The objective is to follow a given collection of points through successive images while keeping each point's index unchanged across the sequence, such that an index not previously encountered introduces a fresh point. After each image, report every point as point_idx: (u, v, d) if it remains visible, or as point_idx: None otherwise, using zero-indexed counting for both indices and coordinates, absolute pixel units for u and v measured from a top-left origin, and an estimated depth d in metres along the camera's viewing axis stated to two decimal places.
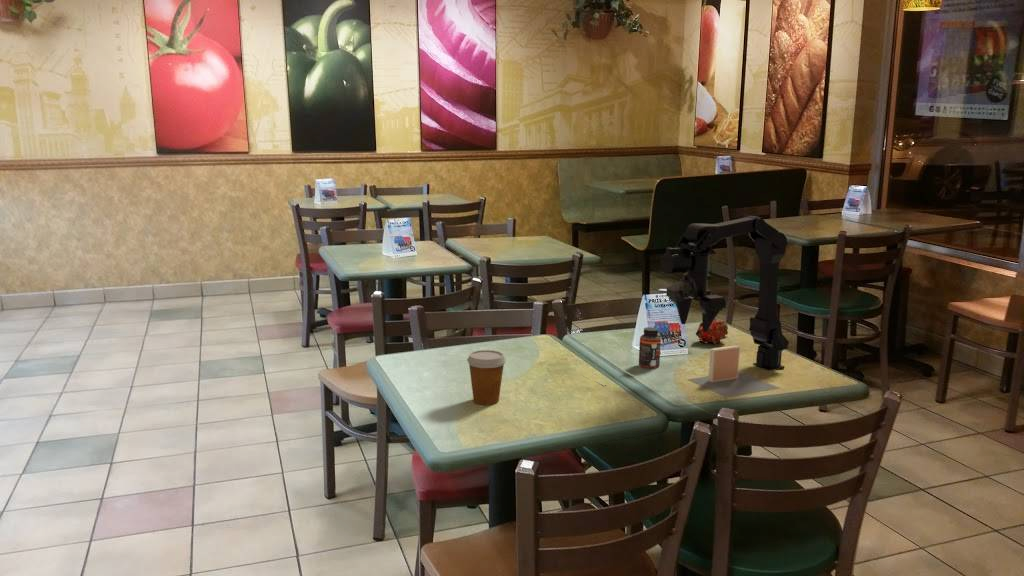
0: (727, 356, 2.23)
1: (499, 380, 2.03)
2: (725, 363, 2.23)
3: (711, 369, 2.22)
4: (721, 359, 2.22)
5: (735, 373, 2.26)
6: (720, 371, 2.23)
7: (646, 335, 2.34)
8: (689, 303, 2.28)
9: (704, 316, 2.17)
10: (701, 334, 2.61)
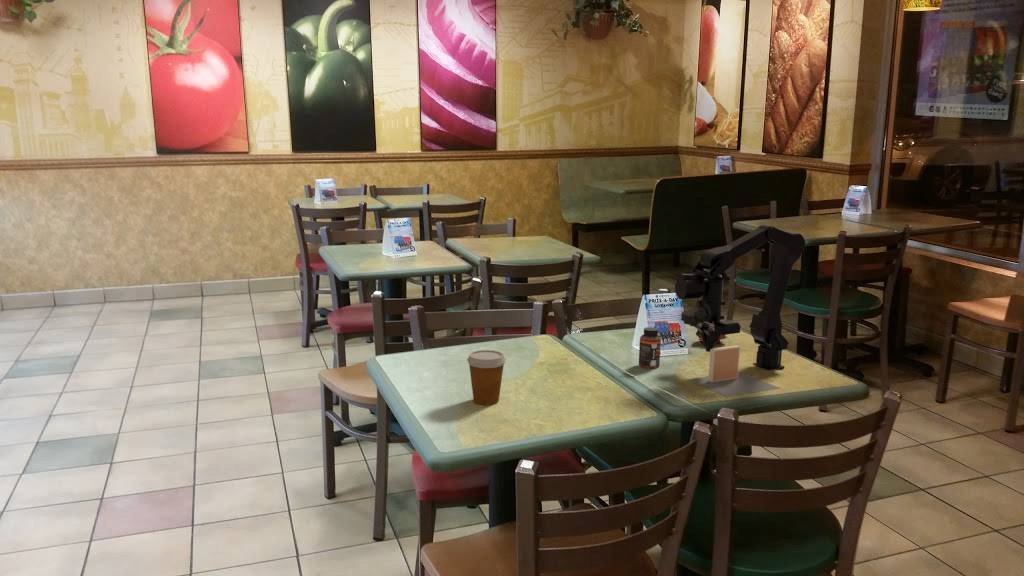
0: (727, 356, 2.23)
1: (499, 380, 2.03)
2: (725, 363, 2.23)
3: (711, 369, 2.22)
4: (721, 359, 2.22)
5: (735, 373, 2.26)
6: (720, 371, 2.23)
7: (646, 335, 2.34)
8: None
9: (708, 337, 2.27)
10: None
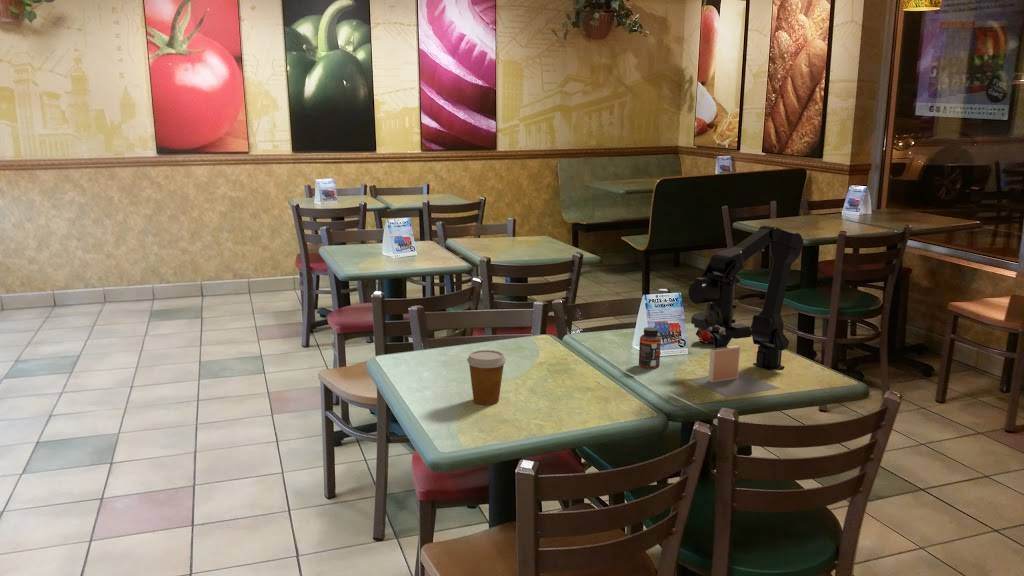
0: (727, 356, 2.23)
1: (499, 380, 2.03)
2: (725, 363, 2.23)
3: (711, 369, 2.22)
4: (721, 359, 2.22)
5: (735, 373, 2.26)
6: (720, 371, 2.23)
7: (646, 335, 2.34)
8: None
9: (719, 341, 2.23)
10: (701, 334, 2.61)
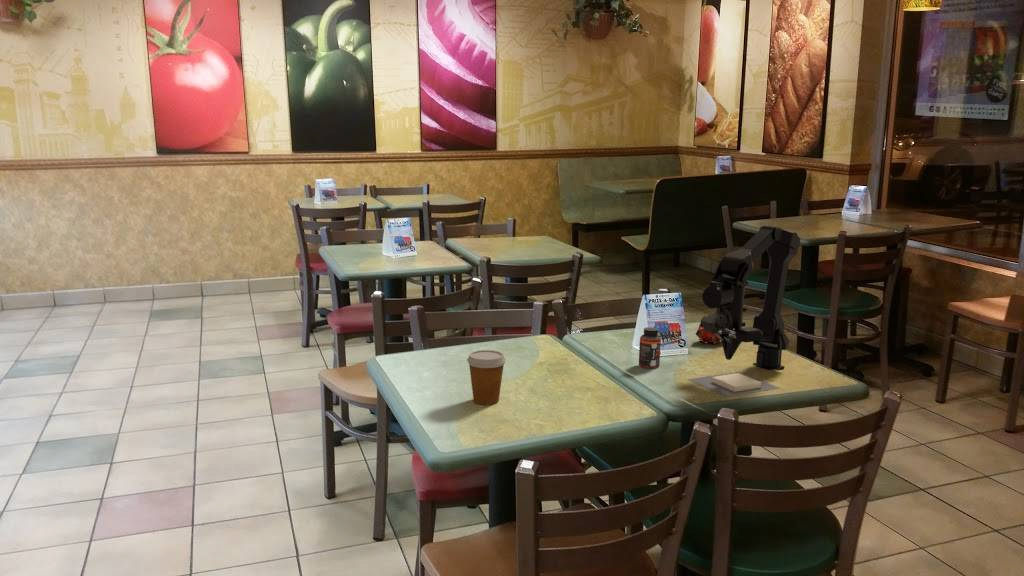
0: None
1: (499, 380, 2.03)
2: None
3: (720, 384, 2.19)
4: None
5: None
6: None
7: (646, 335, 2.34)
8: None
9: (728, 344, 2.20)
10: (701, 334, 2.61)
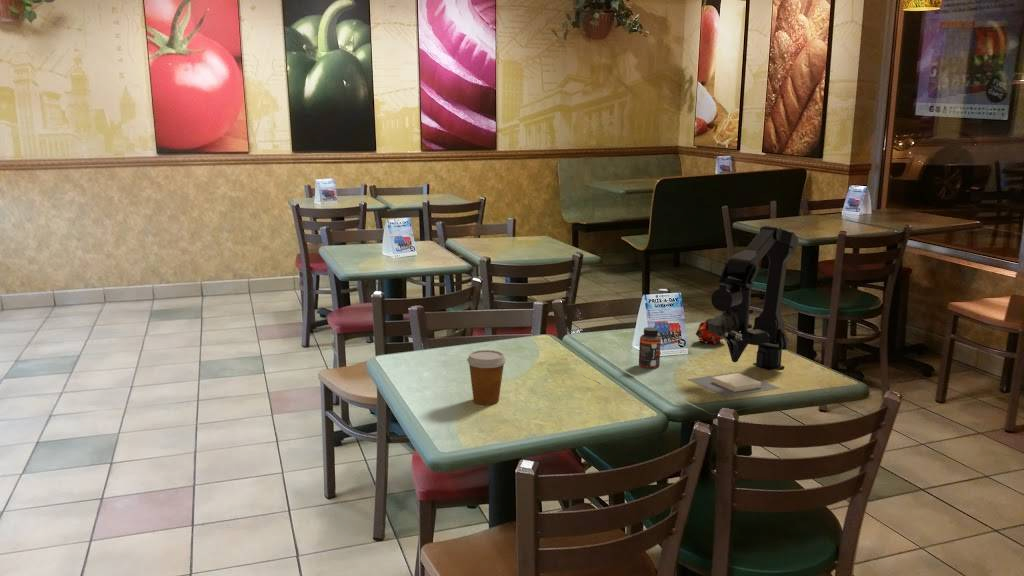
0: None
1: (499, 380, 2.03)
2: None
3: (720, 384, 2.19)
4: None
5: None
6: None
7: (646, 335, 2.34)
8: None
9: (735, 347, 2.18)
10: (701, 334, 2.61)
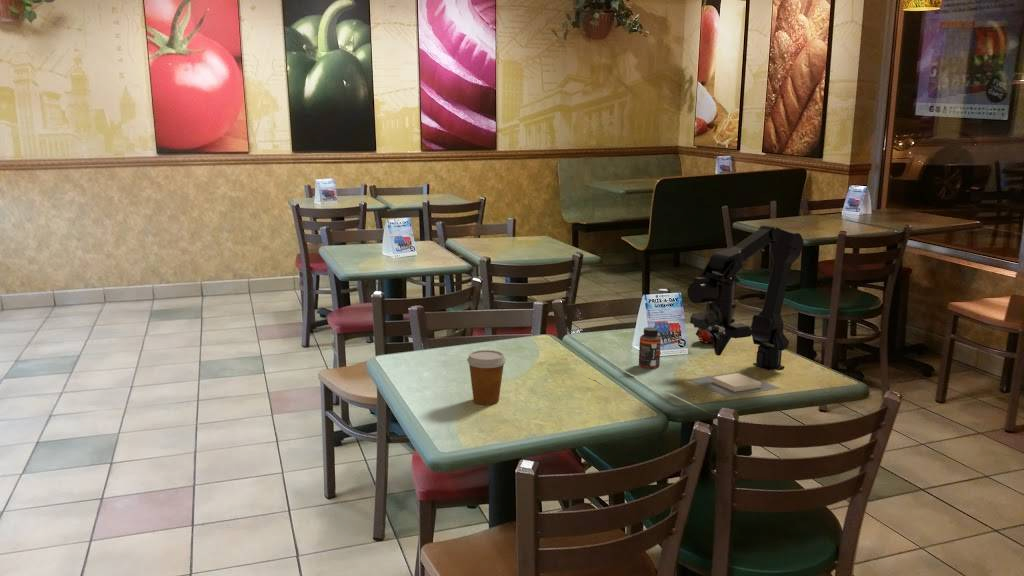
0: None
1: (499, 380, 2.03)
2: None
3: (720, 384, 2.19)
4: None
5: None
6: None
7: (646, 335, 2.34)
8: None
9: (718, 340, 2.24)
10: (701, 334, 2.61)
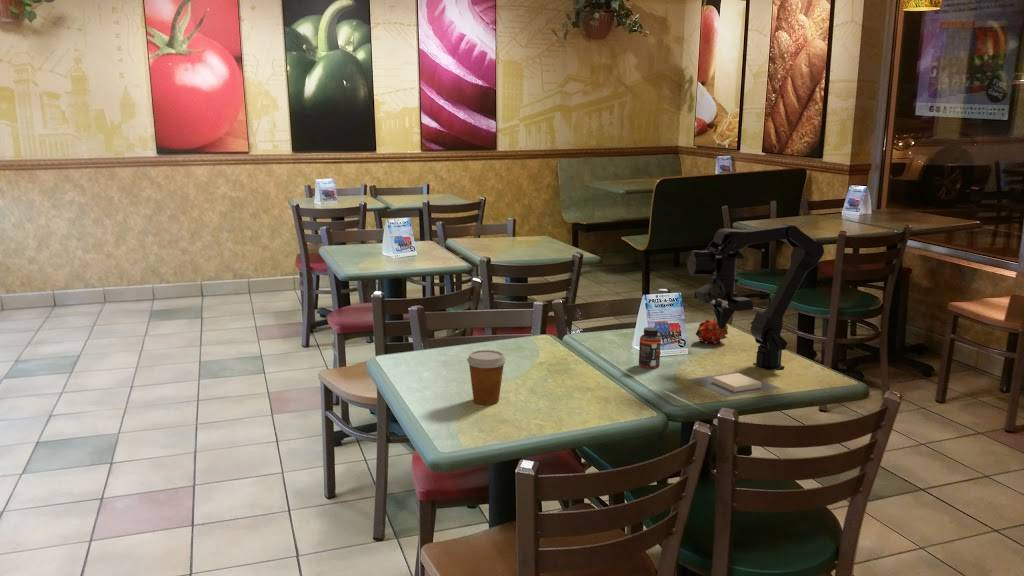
0: None
1: (499, 380, 2.03)
2: None
3: (720, 384, 2.19)
4: None
5: None
6: None
7: (646, 335, 2.34)
8: None
9: (721, 314, 2.31)
10: (701, 334, 2.61)
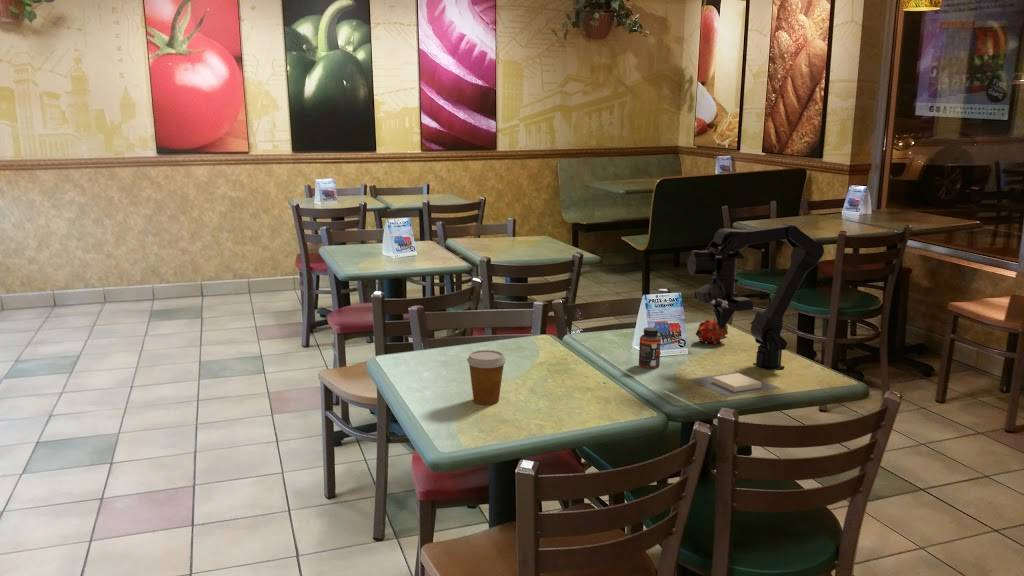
0: None
1: (499, 380, 2.03)
2: None
3: (720, 384, 2.19)
4: None
5: None
6: None
7: (646, 335, 2.34)
8: None
9: (721, 314, 2.31)
10: (701, 334, 2.61)
